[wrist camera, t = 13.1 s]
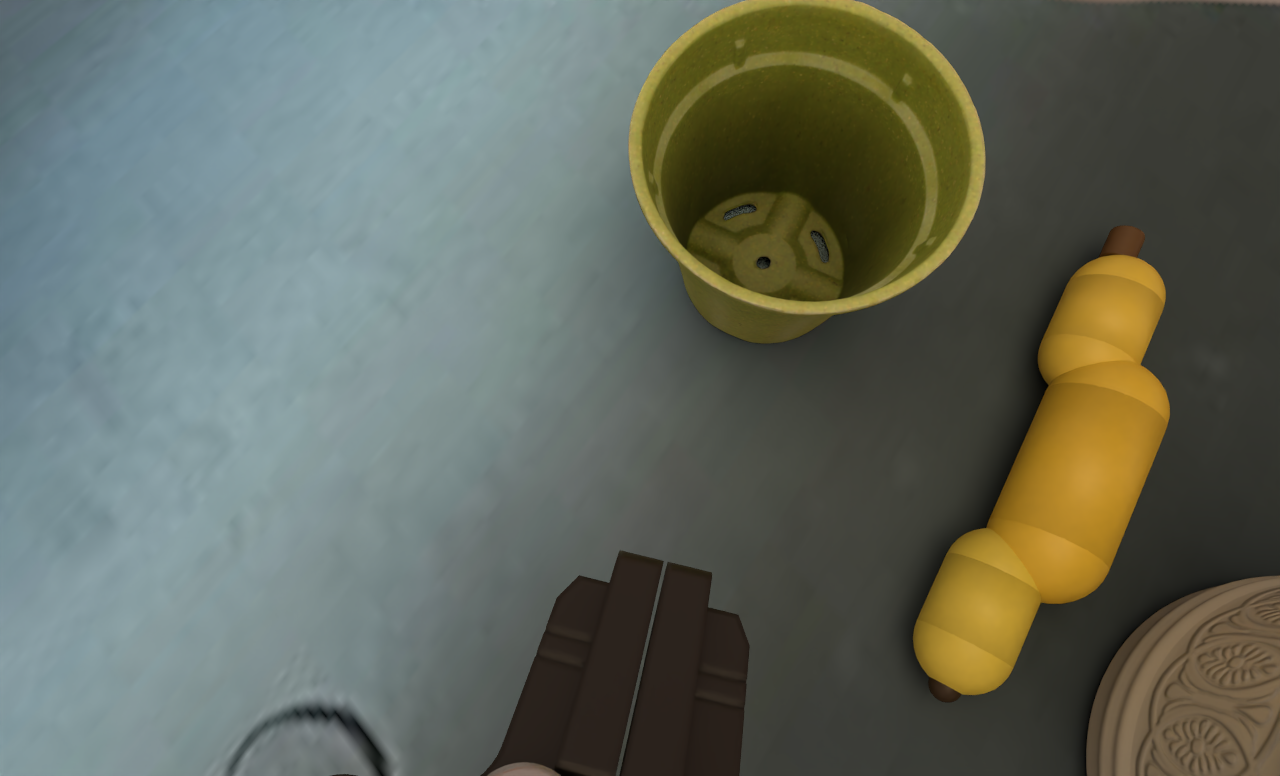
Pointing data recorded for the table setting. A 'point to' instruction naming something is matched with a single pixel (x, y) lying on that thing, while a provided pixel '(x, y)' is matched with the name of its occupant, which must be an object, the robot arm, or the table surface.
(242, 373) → the table surface
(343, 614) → the table surface
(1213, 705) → the jar
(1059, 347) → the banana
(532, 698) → the robot arm
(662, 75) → the plant pot
